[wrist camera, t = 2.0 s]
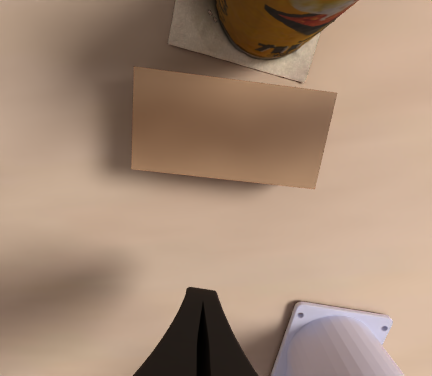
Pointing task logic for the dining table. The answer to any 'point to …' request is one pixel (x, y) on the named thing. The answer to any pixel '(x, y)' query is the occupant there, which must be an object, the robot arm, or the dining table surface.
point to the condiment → (256, 31)
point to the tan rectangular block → (228, 128)
